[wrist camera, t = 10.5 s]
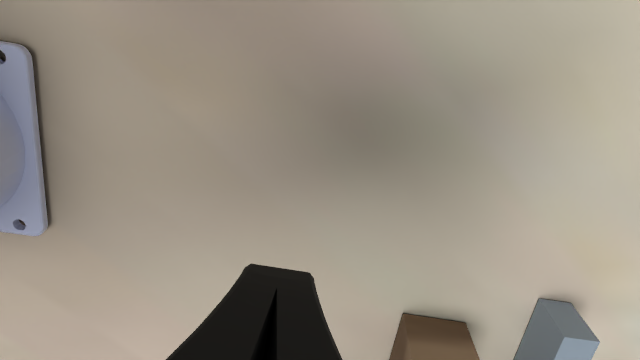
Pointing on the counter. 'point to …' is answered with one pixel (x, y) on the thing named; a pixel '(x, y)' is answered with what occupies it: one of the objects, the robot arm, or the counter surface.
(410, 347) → the walnut tee
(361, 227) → the counter surface
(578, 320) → the slate fence
